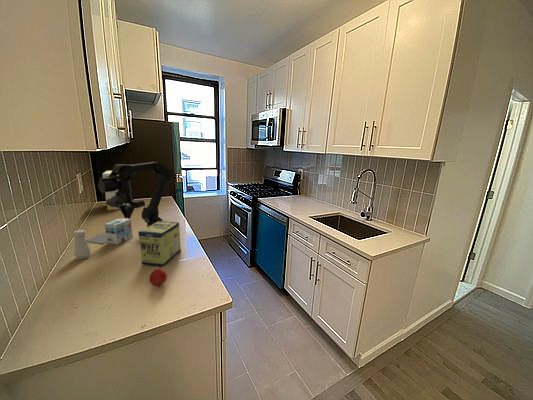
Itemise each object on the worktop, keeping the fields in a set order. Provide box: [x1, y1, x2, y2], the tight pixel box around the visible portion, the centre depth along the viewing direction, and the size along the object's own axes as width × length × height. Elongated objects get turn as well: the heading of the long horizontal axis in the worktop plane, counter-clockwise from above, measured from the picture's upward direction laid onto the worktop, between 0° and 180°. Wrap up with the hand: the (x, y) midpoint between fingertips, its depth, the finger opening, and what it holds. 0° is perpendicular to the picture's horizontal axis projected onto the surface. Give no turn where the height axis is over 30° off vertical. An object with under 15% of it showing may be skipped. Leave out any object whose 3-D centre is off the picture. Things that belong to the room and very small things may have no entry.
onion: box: [149, 266, 168, 288], centre depth 83 cm, size 6×6×8 cm
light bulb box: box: [104, 217, 133, 245], centre depth 121 cm, size 11×7×11 cm, turn 168°
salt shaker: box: [72, 229, 91, 261], centre depth 101 cm, size 6×6×13 cm
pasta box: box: [102, 170, 120, 211], centre depth 179 cm, size 18×10×28 cm, turn 26°
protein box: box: [137, 220, 182, 268], centre depth 103 cm, size 10×16×16 cm
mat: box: [86, 231, 108, 245], centre depth 124 cm, size 12×14×1 cm
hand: (127, 218), depth 117 cm, fingers closed
